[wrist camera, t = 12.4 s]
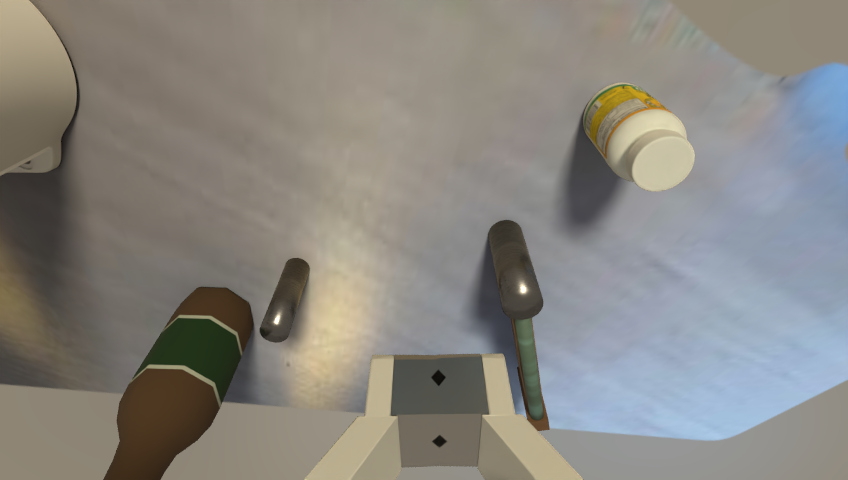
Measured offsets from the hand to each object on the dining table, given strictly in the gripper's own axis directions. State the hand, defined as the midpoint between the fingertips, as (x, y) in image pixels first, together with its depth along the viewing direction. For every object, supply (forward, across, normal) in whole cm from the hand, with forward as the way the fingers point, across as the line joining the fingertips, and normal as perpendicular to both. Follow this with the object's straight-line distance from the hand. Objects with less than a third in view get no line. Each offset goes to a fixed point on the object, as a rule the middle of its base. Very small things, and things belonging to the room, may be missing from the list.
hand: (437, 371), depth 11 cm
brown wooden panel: (+29, +9, -27) cm, 41 cm away
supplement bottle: (+31, +15, -5) cm, 35 cm away
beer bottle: (+31, -22, -26) cm, 46 cm away
